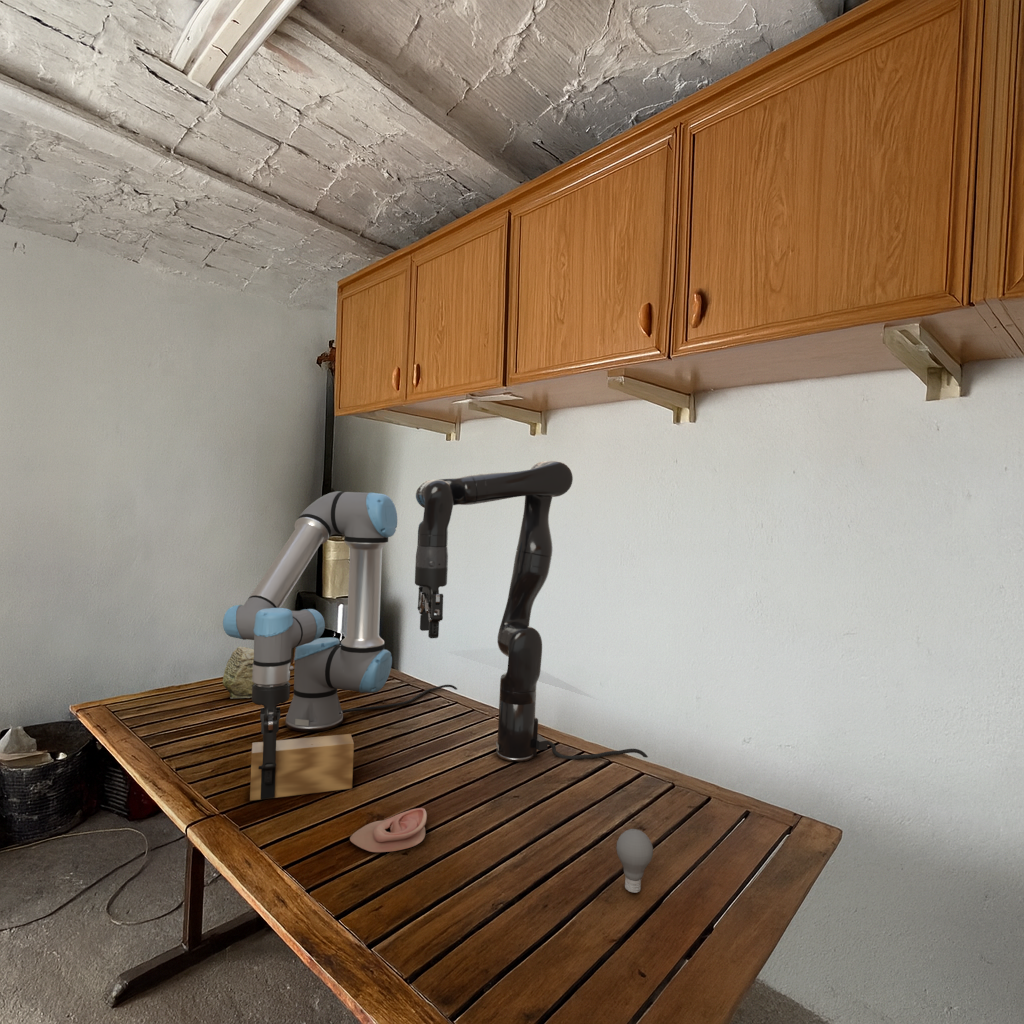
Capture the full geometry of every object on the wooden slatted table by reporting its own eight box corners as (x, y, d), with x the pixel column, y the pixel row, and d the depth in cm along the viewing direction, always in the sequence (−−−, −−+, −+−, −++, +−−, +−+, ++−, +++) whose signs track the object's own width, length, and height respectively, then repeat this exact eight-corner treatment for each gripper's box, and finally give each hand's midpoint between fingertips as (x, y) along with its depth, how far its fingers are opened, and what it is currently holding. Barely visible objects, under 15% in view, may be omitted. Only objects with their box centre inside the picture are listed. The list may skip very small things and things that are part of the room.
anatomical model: (342, 825, 115) (369, 797, 126) (341, 847, 115) (368, 817, 126) (412, 836, 112) (433, 806, 123) (411, 859, 112) (432, 826, 123)
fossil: (218, 695, 195) (220, 647, 195) (278, 685, 208) (279, 640, 207) (228, 703, 189) (230, 653, 188) (289, 692, 201) (290, 645, 201)
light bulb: (610, 879, 108) (613, 822, 108) (644, 879, 109) (647, 822, 109) (619, 902, 102) (622, 840, 102) (655, 901, 103) (658, 840, 103)
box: (249, 801, 131) (251, 753, 130) (250, 788, 136) (252, 742, 136) (352, 788, 138) (354, 743, 138) (348, 777, 144) (350, 733, 143)
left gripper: (291, 694, 127) (287, 809, 127) (288, 669, 144) (284, 770, 145) (251, 697, 124) (247, 814, 124) (253, 671, 142) (249, 774, 142)
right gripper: (455, 568, 143) (452, 640, 143) (439, 561, 156) (436, 627, 156) (422, 568, 140) (419, 641, 140) (409, 561, 153) (406, 628, 154)
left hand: (267, 790), depth 135 cm, fingers closed on box, 6 cm apart
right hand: (428, 634), depth 148 cm, fingers open, 8 cm apart
